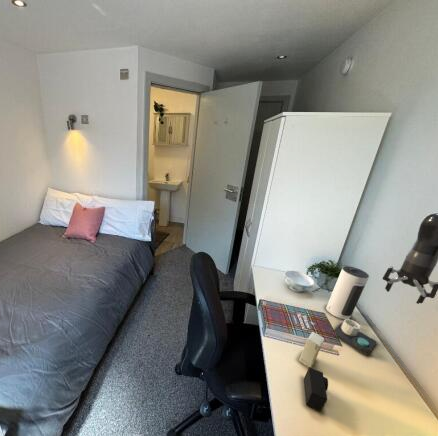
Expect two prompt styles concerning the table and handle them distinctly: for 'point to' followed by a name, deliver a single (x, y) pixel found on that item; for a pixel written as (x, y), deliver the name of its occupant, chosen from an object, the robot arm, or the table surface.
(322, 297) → the table surface
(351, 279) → the speaker
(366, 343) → the tare button
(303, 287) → the chinaware
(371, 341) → the scale
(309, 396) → the digital camera
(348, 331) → the white tape roll
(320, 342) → the cosmetic box
